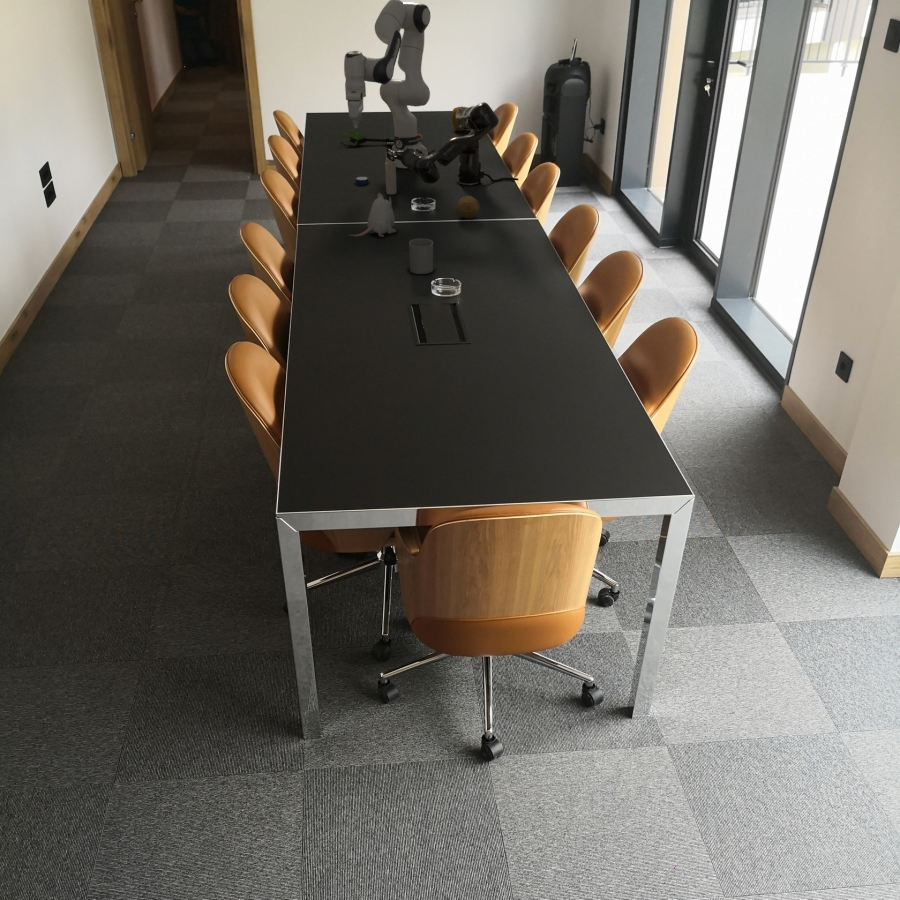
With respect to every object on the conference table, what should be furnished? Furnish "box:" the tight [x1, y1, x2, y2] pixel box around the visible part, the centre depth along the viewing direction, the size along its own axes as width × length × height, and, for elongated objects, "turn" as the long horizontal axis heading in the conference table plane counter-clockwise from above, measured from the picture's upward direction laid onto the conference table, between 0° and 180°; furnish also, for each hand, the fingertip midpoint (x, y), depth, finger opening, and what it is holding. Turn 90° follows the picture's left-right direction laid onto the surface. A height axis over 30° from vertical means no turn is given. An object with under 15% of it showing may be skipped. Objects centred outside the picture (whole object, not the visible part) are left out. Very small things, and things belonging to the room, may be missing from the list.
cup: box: [408, 237, 434, 275], centre depth 305 cm, size 8×8×10 cm
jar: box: [384, 157, 398, 195], centre depth 384 cm, size 5×5×15 cm
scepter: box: [339, 131, 394, 148], centre depth 461 cm, size 6×13×30 cm
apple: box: [451, 105, 467, 132], centre depth 487 cm, size 11×11×13 cm
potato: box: [456, 195, 481, 219], centre depth 357 cm, size 10×14×8 cm
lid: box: [355, 176, 369, 186], centre depth 401 cm, size 5×6×2 cm
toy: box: [349, 192, 397, 238], centre depth 334 cm, size 9×24×15 cm, turn 137°
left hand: (357, 125), depth 385 cm, fingers open, 8 cm apart
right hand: (398, 150), depth 368 cm, fingers open, 8 cm apart
